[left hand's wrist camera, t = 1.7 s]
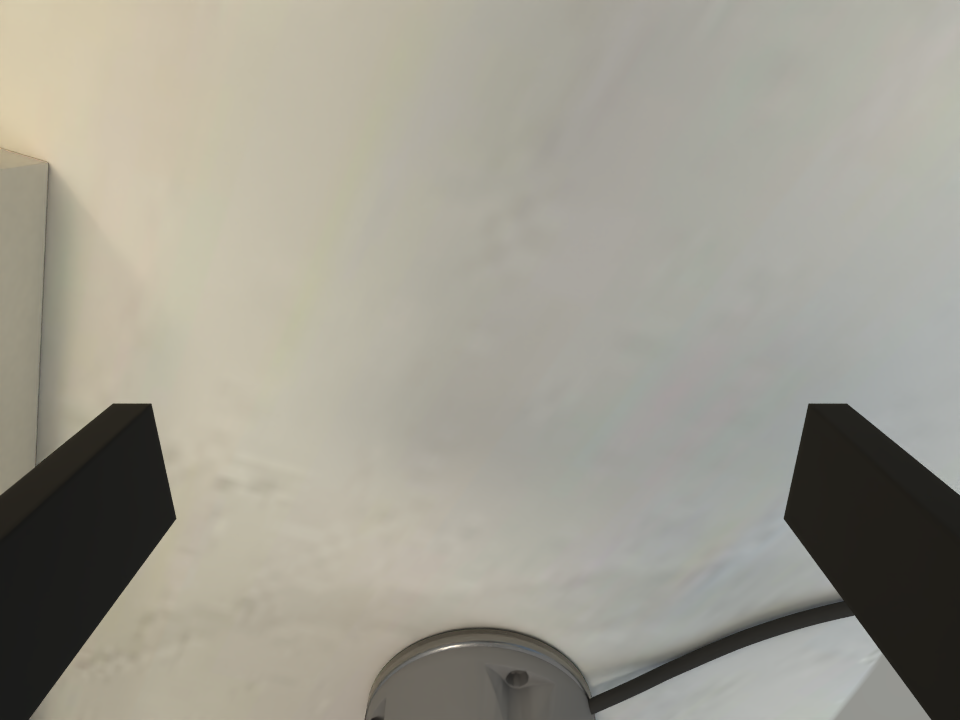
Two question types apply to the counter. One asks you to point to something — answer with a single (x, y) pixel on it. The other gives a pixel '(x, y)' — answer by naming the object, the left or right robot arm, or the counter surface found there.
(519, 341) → the counter surface
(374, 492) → the counter surface
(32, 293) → the beam
